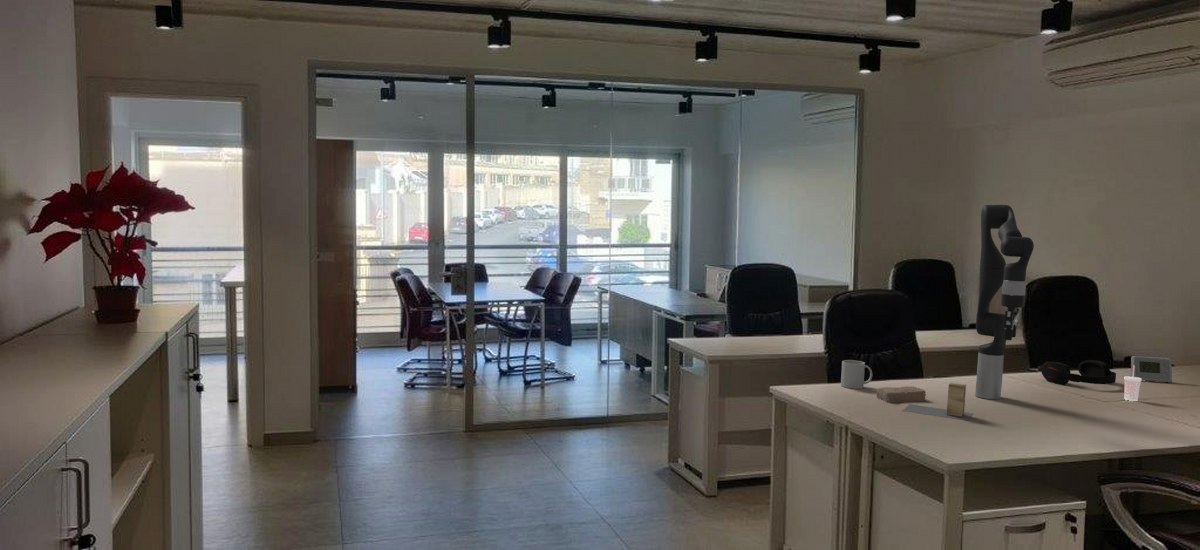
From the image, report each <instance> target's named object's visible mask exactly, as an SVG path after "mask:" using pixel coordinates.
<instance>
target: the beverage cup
mask: <svg viewBox="0 0 1200 550" xmlns="http://www.w3.org/2000/svg"><path fill="white" fill-rule="evenodd" d="M1134 368H1135V365H1133V375H1132V374H1131V376H1128V375H1127V376H1125V375H1124V377H1123V379H1124V396H1123V397H1124V398H1123V400H1124V399H1125V400H1124V401H1127V400H1129V401H1128V402H1133V401H1137V402H1138V400H1139V393H1140V388H1141V382H1143V381H1142V379H1141V378H1138V377H1134Z"/></svg>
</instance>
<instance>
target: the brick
mask: <svg viewBox="0 0 1200 550" xmlns="http://www.w3.org/2000/svg"><path fill="white" fill-rule="evenodd" d="M926 397H927V396H926V390H925V389H923V388H920V387H916V386H911V385H910V386H909V385H907V386H901V387H894V386H893V387H891V386H890V387H889V386H887V387H878V388H877V390H876V399H878V400H880V399H881V400H880V401H882V400H883V401H882V402H884V401H885V402H884V403H888V402H889V403H891V402H892V403H904V402H920V401H925V400H926Z"/></svg>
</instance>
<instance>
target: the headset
mask: <svg viewBox="0 0 1200 550" xmlns="http://www.w3.org/2000/svg"><path fill="white" fill-rule="evenodd" d="M1074 367H1075V368H1078V369H1077V371H1078V373H1079V374H1078V373H1072V372H1071V369H1070V365H1067V364H1065V363H1062V362H1057V361H1045V362H1044V363H1043V364H1042V365H1041V369H1040V370H1041V372H1040V373H1041V375H1042V376H1043V378H1044V379H1045V380H1046V381H1047V382H1048V383H1051V384H1055V385H1060V386H1063V385H1067V384H1068V383H1069V382H1073V383H1085V384H1093V385H1111V384H1114V383H1115V382H1116V380H1117V373H1116V372H1115V371H1112V370H1110V368H1109V367H1108V364H1106V363H1105V362H1104V361H1101V360H1096V359H1095V360H1094V359H1088V360H1083V361H1081V362H1080V363H1079V364H1078V366H1077V365H1075V366H1074Z"/></svg>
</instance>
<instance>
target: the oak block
mask: <svg viewBox="0 0 1200 550" xmlns="http://www.w3.org/2000/svg"><path fill="white" fill-rule="evenodd" d="M966 392H967V384H966V383H962V382H961V383H960V382H952V381H951V382H950V383H948V389H947V403H946V404H947V405H946V406H947V407H946V410H947V415H949V416H956V417H962V416H963V415H964V412H965V405H966V394H967V393H966Z"/></svg>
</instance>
